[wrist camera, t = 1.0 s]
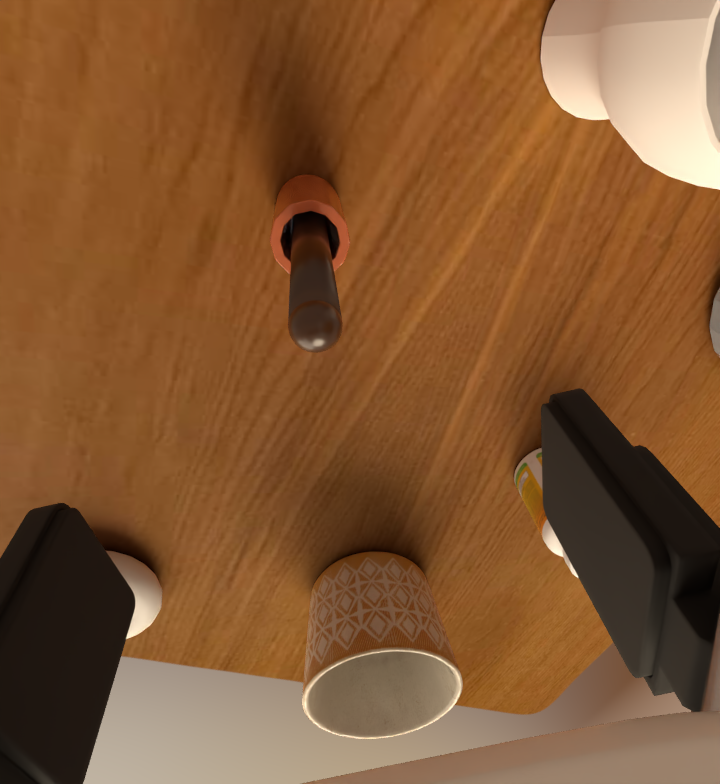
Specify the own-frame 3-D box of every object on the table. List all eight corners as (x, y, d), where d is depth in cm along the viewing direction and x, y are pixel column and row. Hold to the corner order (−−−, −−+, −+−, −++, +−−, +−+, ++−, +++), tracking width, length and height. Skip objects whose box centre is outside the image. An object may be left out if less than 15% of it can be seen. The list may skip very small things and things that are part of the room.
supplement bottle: (533, 503, 47) (583, 597, 39) (500, 470, 45) (545, 563, 36) (587, 468, 45) (650, 559, 37) (555, 432, 43) (615, 521, 35)
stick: (289, 198, 31) (280, 318, 17) (319, 191, 31) (337, 305, 17) (297, 229, 32) (296, 367, 18) (326, 222, 32) (349, 355, 18)
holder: (268, 182, 31) (260, 211, 25) (332, 167, 31) (339, 193, 25) (285, 245, 33) (283, 286, 27) (346, 231, 33) (356, 270, 27)
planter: (330, 526, 46) (338, 637, 37) (457, 555, 50) (492, 662, 41) (283, 616, 52) (280, 730, 43) (400, 636, 55) (419, 746, 47)
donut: (77, 523, 43) (24, 593, 47) (62, 556, 40) (6, 628, 44) (187, 569, 47) (131, 630, 51) (181, 602, 44) (122, 665, 48)
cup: (639, 169, 33) (856, 239, 20) (482, 115, 30) (615, 155, 18) (750, -44, 28) (1137, -132, 15) (572, -130, 25) (852, -323, 12)
